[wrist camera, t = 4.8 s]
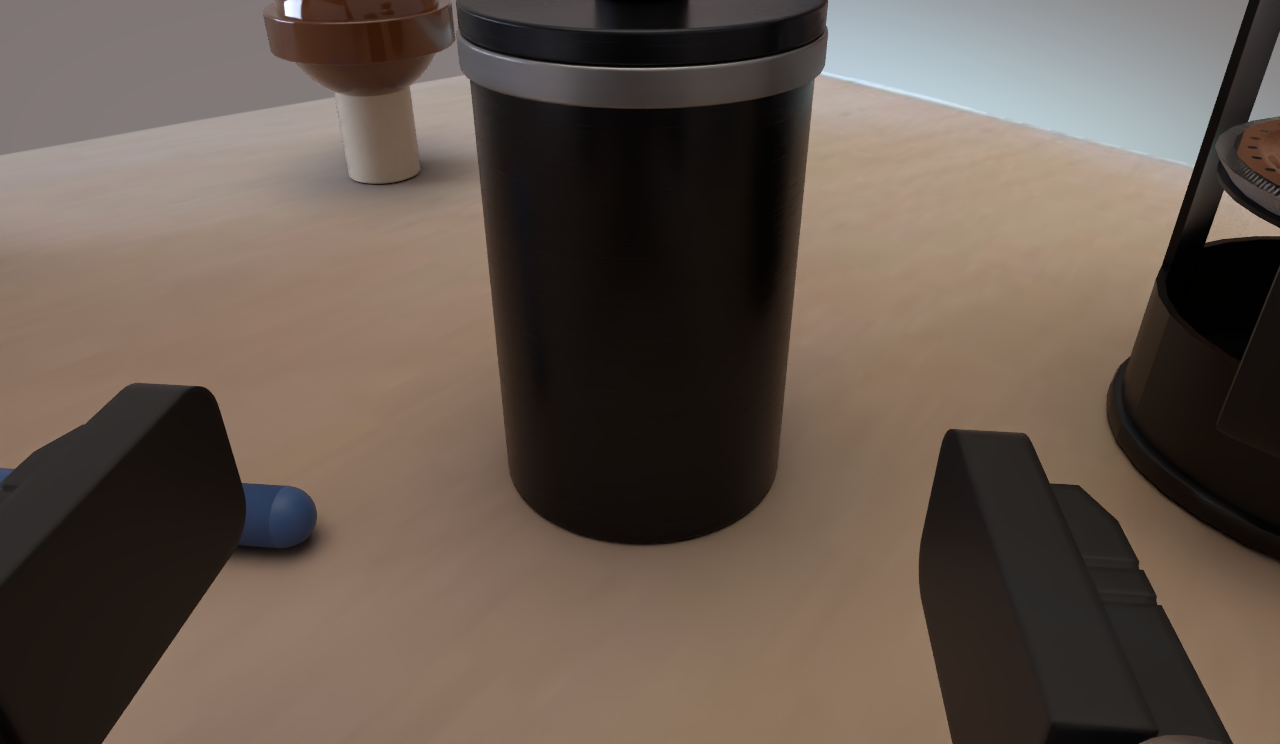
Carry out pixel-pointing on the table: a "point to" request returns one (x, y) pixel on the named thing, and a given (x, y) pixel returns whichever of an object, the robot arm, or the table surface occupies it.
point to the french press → (1216, 324)
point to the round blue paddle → (270, 515)
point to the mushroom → (366, 70)
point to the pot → (642, 247)
